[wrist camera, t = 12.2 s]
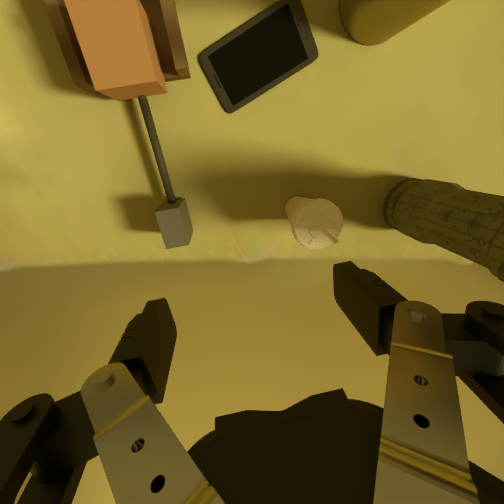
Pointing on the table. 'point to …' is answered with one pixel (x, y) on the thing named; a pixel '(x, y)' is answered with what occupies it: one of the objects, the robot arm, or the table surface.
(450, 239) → the thermos
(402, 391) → the robot arm
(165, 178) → the block
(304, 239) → the smoothie
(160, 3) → the wooden crate
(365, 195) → the table surface
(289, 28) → the cell phone
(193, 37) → the table surface
